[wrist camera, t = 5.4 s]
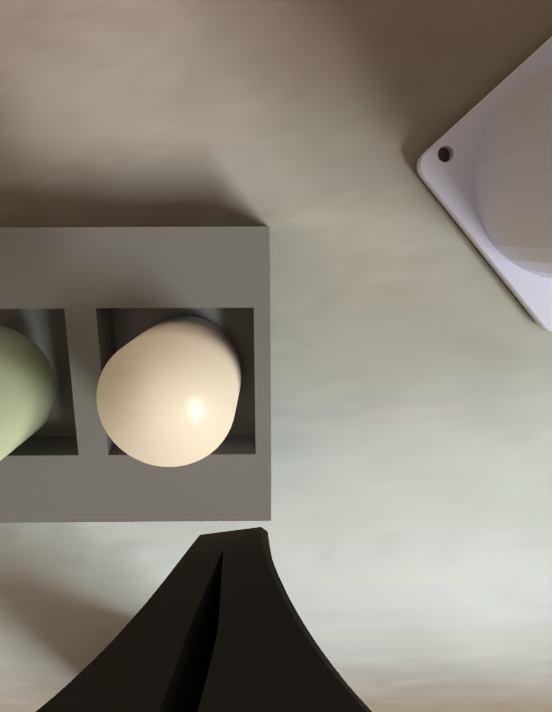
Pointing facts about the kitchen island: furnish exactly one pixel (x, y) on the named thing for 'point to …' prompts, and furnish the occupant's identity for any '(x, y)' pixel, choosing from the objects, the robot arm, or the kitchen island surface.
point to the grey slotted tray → (109, 334)
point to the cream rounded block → (171, 392)
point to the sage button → (23, 389)
